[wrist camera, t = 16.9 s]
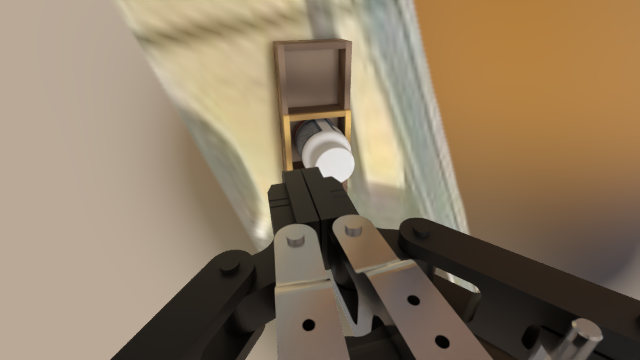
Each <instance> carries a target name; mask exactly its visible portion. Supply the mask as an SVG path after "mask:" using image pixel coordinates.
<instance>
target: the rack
mask: <svg viewBox="0 0 640 360" xmlns="http://www.w3.org/2000/svg"><path fill="white" fill-rule="evenodd" d="M274 53H275V65H276V77H277V90H278V102H279V114H280V126H281V138H282V150H283V163H284V171H290V170H297V169H300V170H301V169H304V168H305V166H304V164H303V162H302V160H301V158H300V155H299V153H298V151H297V149H296V147H295V144H294V141H293V133H294V130H295V127H296V126H297V124H298V123H299V122H300V121H301V120H310V119H321V118H328V119H330V120H331V121H332V122H333V124H334V125H335V126H336V127H337V128H338V129H339V130H340V131H341V132H342V134H343V135H344V136H345V137H346V138H347V140H348V142H349V144H350V139H351V110H350V85H351V54H352V42H351V41H348V40H344V39H326V40H299V41H274ZM341 184H342V186H343V188H344V190H345V191H346V193H347V179H346V180H345V181H343V182H341Z"/></svg>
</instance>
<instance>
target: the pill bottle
mask: <svg viewBox="0 0 640 360" xmlns="http://www.w3.org/2000/svg"><path fill="white" fill-rule="evenodd" d="M293 141H294V144H295V147H296V149H297V151H298V153H299V155H300V158H301V160H302V162H303V164H304V166H305V168H311V167H319V169H320V171H321V173H322V175H323V177H329V176H332V177H334V178H335V179H337V180H338V181H340V182H343V181H345V180H346V179H347V178H348V177H349V176H350V175H351V174H352V172H353V169H354V158H353V156H352V154H351V147H350V144H349V142H348V140H347V138H346V137H345V136H344V135H343V134H342V132H341V131H340V130H339V129H338V128H337V127H336V126H335V125H334V124H333V122H332V121H331V120H330V119H328V118H321V119H310V120H301V121H300V122H299V123H298V124H297V126H296V127H295V130H294V133H293Z"/></svg>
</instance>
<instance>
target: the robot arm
mask: <svg viewBox="0 0 640 360" xmlns="http://www.w3.org/2000/svg"><path fill="white" fill-rule="evenodd" d="M282 177H283V183H282V184H275V185H271V187H270V189H269V191H268V200H269V207H270V214H271V221H272V228H273V234H274V239H273V241H272V243H271V244H270V245H269V246H268V247H267V248H266V249H264V250H263V251H261V252H259V253H257V254H254V255H252V256H251V255H250V254H249V253H248V252H246V251H242V250H229V251H225V252H223V253H221V254H219V255H217V256H215V257H214V258H213V259H212V260H211V261H210V262H209V263H208V264H207V265H206V266H205V267H204V268H203V269H202V270H201V271H200V272H199V273H198V274H197V275H196V276H194V278H193V279H191V281H189V282H188V283H187V284H186V285H185V286H184V287H183V288H182V289H181V290H180V291H179V292H178V293H177V294H176V295H175V296H174V297H173V298H172V299H171V300H170V301H169V302H168V303H167V304H166V305H165V306H164V307H163V308H162V309H161V310H160V311H159V312H158V313H157V314H156V315H155V316H154V317H153V318H152V319H151V320H150V321H149V322H148V323H147V324H146V325H145V326H144V327H143V328H142V329H141V330H140V331H139V332H138V333H137V334H136V335H135V336H134V337H133V338H132V339H131V340H130V341H129V342H128V343H127V344H126V345H125V346H124V347H123V348H122V349H121V350H120V351H119V352H118V353H117V354H116V355H115V356H114V357H113V358H112V359H111V360H245V359H246V357H247V356H248V354H249V353H250V351H251V350H252V348H253V346H254V345H255V343H256V342H257V340H258V339H259V337H260V336H261V334H262V332H263V330H264V328H265V324H266V323H268V322H269V321H271V320H273V319H275V318H276V332H277V354H278V360H640V301H639V300H636V299H634V298H631V297H629V296H626V295H623V294H621V293H618V292H616V291H613V290H610V289H607V288H605V287H603V286H600V285H597V284H595V283H592V282H589V281H587V280H584V279H582V278H579V277H576V276H574V275H571V274H569V273H566V272H563V271H561V270H558V269H556V268H553V267H550V266H548V265H545V264H543V263H540V262H537V261H535V260H532V259H530V258H527V257H524V256H522V255H519V254H516V253H514V252H511V251H509V250H506V249H503V248H501V247H498V246H495V245H493V244H490V243H488V242H485V241H483V240H480V239H477V238H474V237H472V236H470V235H467V234H464V233H462V232H459V231H457V230H454V229H451V228H449V227H446V226H443V225H441V224H438V223H436V222H433V221H430V220H428V219H424V218H410V219H407V220H405V221H403V222H402V223H401V224H400V228H399V230H394V229H380V228H376V227H375V226H374V225H373V223H372V222H371V221H370V220H369V219H367V218H365V217H363V216H360V215H359V214H358V212H357V210H356V209H355V207H354V205H353V203H352V202H351V200H350V198H349V196H348V195H347V193H346V191H345V190H344V188H343V186H342V184H341V182H340V181H338V180H337V179H335V178H334V177H332V176H329V177H323V175H322V173H321V171H320V169H319V167H311V168H304V169H301V170H300V169H297V170H290V171H282ZM436 268H439V269H442V270H444V271H446V272H448V273H450V274H452V275H454V276H457V277H459V278H461V279H463V280H465V281H467V282H470V283H472V284H473V285H475V286H476V287H477V288H478V289H479V290H480V292H481V293H474V292H471V291H469V290H467V289H465V288H463V287H461V286H459V285H457V284H455V283H452V282H450V281H448V280H446V279H444V278H442V277H440V276H438V275H436V274H435V272H436ZM329 269H331V272H332V274H333V287H334V290H335V292H336V295H337V297H338V299H339V301H340V304H341V306H342V308H343V310H344V313H345V315H346V317H347V319H348V321H349V324H350V326H351V328H352V331H353V334H354V337H353V336H351V337H350V336H347V337H345V336H344V333H343V329H342V325H341V320H340V317H339V312H338V308H337V304H336V300H335V296H334V292H333V287H332V284H331V281H330V279H327V276H326V272H325V270H329Z"/></svg>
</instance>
